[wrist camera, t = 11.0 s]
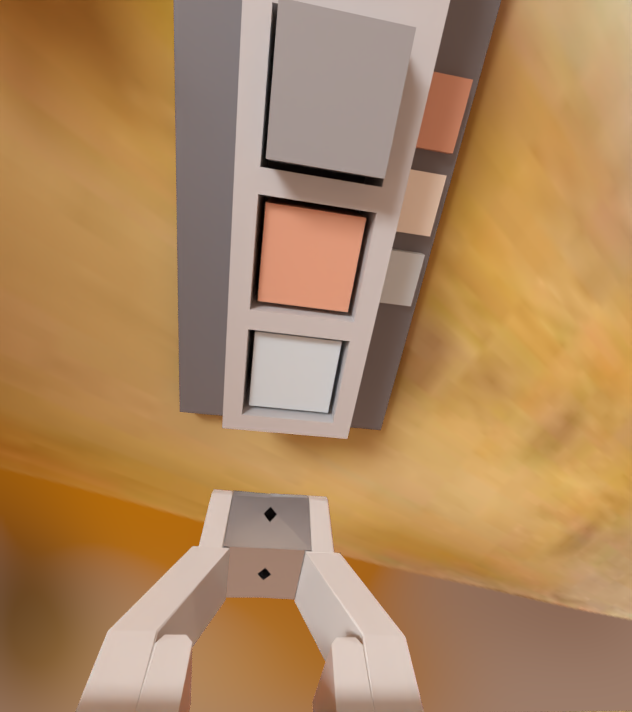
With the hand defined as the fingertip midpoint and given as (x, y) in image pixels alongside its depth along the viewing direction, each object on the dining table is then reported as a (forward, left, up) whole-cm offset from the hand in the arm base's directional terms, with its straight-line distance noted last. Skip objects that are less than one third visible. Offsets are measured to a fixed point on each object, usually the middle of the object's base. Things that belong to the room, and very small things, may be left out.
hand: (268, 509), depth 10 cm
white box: (+1, -1, -14) cm, 14 cm away
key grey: (+1, +11, -12) cm, 16 cm away
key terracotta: (+1, +5, -14) cm, 15 cm away
